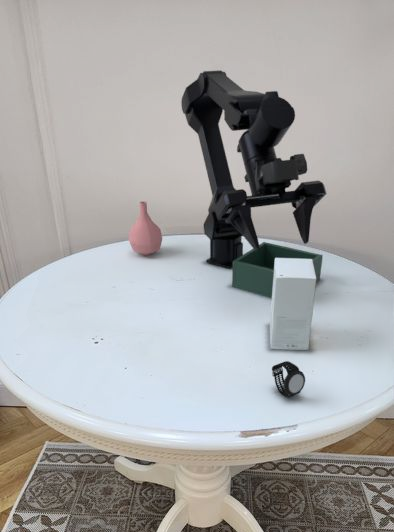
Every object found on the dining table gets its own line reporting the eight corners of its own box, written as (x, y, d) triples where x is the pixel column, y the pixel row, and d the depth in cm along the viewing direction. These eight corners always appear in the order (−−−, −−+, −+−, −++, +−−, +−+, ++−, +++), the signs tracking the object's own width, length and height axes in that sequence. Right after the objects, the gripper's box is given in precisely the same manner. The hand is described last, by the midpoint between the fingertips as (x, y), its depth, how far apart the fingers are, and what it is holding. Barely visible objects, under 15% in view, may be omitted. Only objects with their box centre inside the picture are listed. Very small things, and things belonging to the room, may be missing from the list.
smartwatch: (279, 405, 76) (281, 376, 73) (268, 384, 80) (270, 356, 77) (307, 401, 76) (310, 372, 74) (295, 380, 81) (298, 353, 78)
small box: (309, 351, 87) (317, 278, 80) (270, 349, 88) (275, 277, 81) (305, 326, 94) (312, 257, 87) (269, 325, 95) (273, 256, 88)
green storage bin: (231, 286, 108) (232, 261, 105) (262, 265, 117) (263, 241, 114) (292, 303, 102) (294, 276, 99) (319, 280, 110) (322, 255, 107)
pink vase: (154, 244, 129) (151, 195, 122) (169, 255, 123) (166, 203, 117) (124, 251, 126) (120, 201, 119) (138, 262, 120) (134, 210, 114)
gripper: (223, 141, 83) (246, 235, 81) (329, 131, 88) (354, 220, 86) (206, 176, 93) (226, 260, 91) (301, 166, 98) (322, 245, 96)
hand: (282, 246), depth 91 cm, fingers open, 9 cm apart
